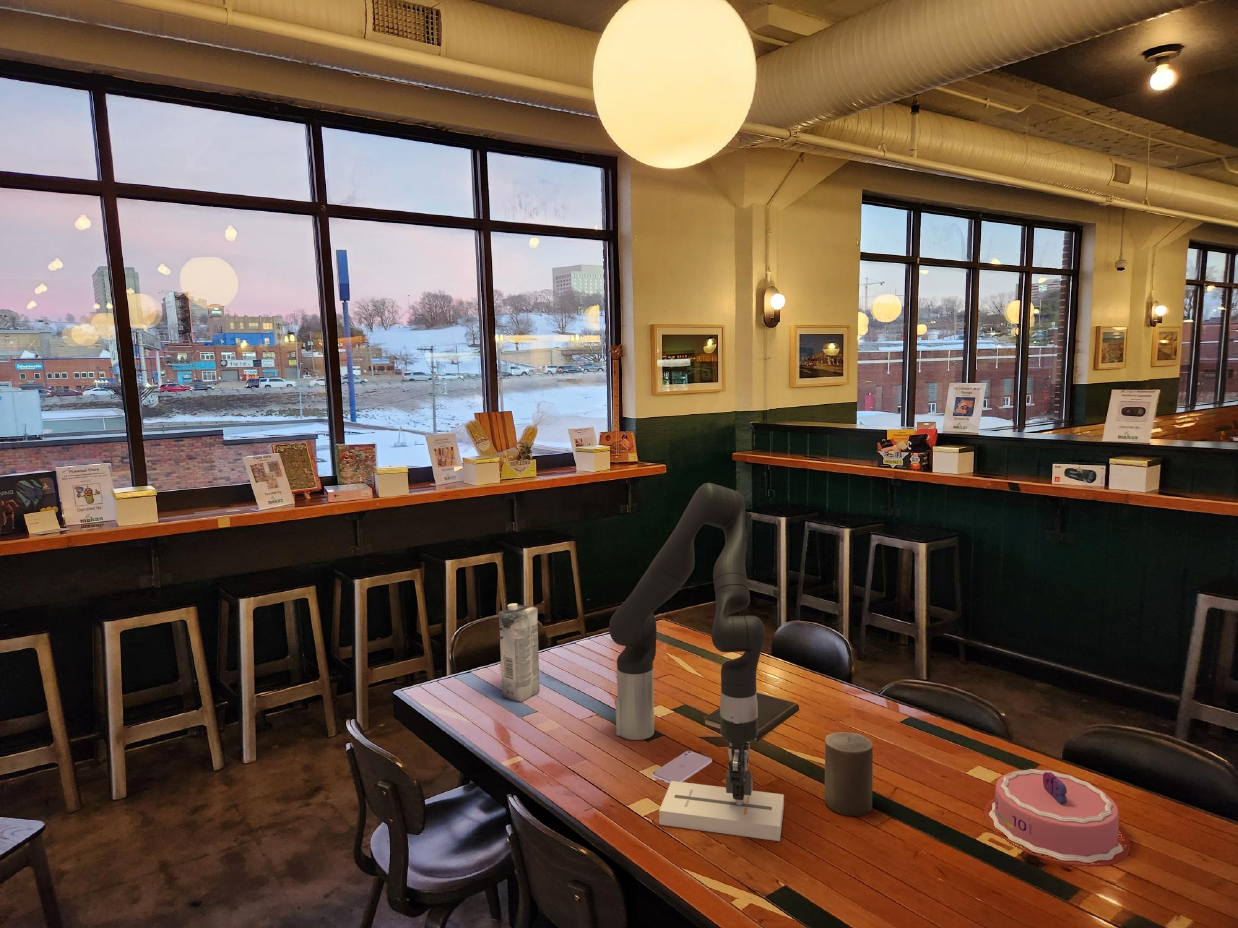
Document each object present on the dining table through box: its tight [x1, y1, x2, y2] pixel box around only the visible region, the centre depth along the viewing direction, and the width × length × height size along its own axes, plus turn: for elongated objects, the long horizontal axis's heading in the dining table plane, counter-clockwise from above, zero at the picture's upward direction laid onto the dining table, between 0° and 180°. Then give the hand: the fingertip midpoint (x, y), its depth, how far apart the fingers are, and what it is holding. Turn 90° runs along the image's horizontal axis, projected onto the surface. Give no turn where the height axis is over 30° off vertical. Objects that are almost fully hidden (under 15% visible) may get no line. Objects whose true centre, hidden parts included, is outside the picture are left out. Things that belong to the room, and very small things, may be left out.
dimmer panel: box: [658, 781, 785, 842], centre depth 156 cm, size 24×12×3 cm, turn 74°
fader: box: [725, 768, 754, 805], centre depth 155 cm, size 5×3×6 cm, turn 74°
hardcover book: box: [703, 691, 800, 742], centre depth 203 cm, size 16×23×2 cm
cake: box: [983, 768, 1131, 868], centre depth 149 cm, size 25×25×11 cm
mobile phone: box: [651, 750, 713, 785], centre depth 176 cm, size 8×1×15 cm
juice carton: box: [497, 602, 541, 703], centre depth 220 cm, size 9×10×27 cm
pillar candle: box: [824, 731, 874, 817], centre depth 159 cm, size 10×10×15 cm
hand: (739, 793), depth 155 cm, fingers closed on fader, 3 cm apart
